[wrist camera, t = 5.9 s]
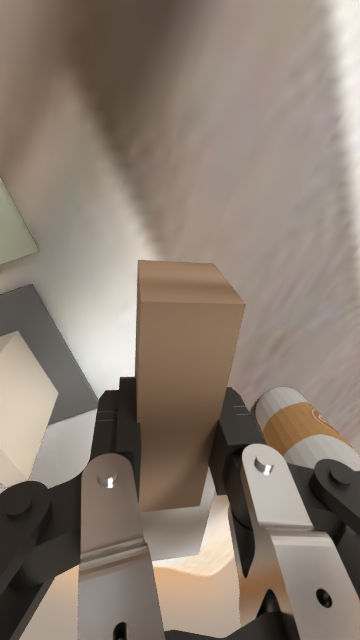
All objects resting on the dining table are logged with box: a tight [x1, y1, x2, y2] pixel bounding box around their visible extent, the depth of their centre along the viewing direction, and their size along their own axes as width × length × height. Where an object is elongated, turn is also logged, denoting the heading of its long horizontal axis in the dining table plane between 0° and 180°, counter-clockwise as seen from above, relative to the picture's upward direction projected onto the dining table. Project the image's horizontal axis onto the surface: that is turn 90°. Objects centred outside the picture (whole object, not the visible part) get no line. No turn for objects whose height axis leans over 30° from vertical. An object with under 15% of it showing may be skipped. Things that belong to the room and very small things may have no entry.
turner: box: [135, 260, 246, 561], centre depth 13 cm, size 19×6×3 cm, turn 176°
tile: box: [0, 331, 58, 488], centre depth 24 cm, size 8×2×10 cm, turn 18°
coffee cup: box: [255, 387, 360, 542], centre depth 30 cm, size 8×8×15 cm
